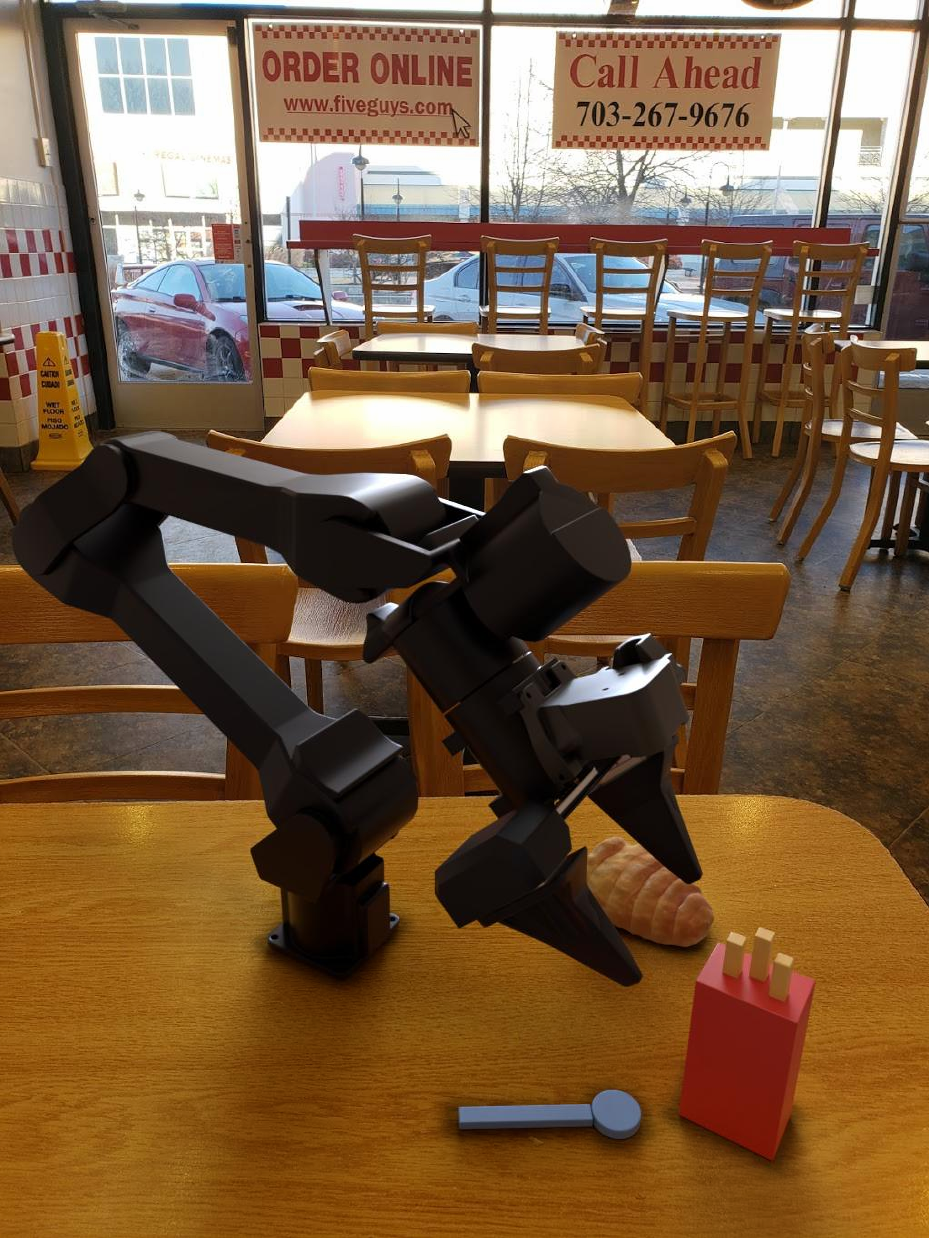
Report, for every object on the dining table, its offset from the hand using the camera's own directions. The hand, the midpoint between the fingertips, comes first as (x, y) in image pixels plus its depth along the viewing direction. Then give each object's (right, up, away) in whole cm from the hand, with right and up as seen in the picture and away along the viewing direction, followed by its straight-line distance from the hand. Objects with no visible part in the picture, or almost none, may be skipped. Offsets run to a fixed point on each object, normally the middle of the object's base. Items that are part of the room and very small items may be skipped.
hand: (667, 927), depth 48 cm
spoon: (-6, -10, +1) cm, 12 cm away
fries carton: (+4, -10, +2) cm, 11 cm away
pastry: (+2, -4, +18) cm, 18 cm away
